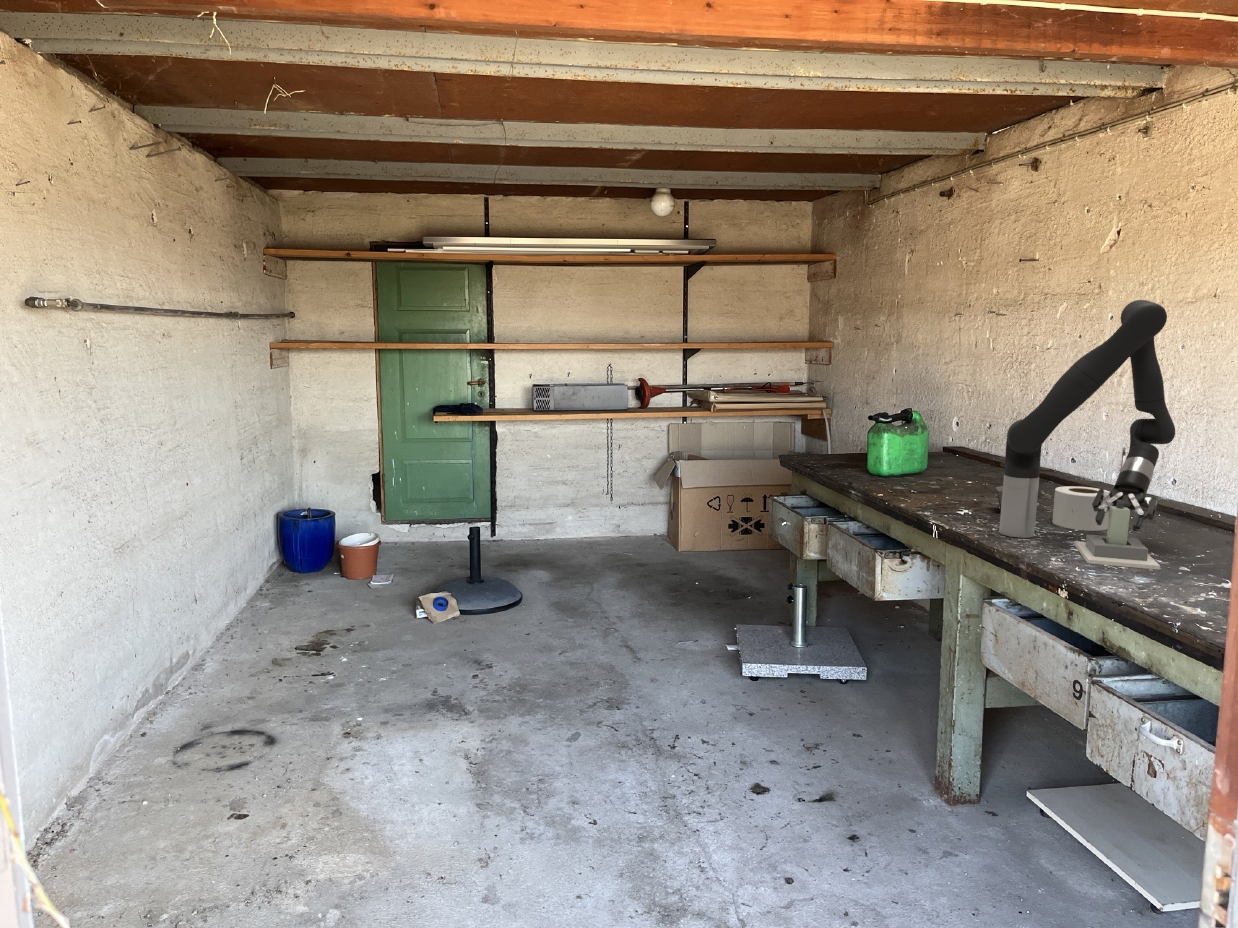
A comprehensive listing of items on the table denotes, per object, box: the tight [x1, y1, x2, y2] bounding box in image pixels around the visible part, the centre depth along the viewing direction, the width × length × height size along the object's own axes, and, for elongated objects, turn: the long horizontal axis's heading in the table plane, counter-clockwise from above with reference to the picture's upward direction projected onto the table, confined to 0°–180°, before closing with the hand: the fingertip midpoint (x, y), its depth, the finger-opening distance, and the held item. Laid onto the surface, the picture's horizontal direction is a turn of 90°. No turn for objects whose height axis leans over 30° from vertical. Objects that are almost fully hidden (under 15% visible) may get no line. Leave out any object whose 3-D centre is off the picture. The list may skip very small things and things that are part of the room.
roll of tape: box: [1052, 485, 1111, 532], centre depth 261 cm, size 16×15×11 cm
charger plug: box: [1106, 500, 1131, 545], centre depth 225 cm, size 4×4×14 cm
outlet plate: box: [1073, 534, 1161, 571], centre depth 226 cm, size 20×16×4 cm
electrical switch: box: [995, 485, 1003, 510], centre depth 279 cm, size 9×5×9 cm, turn 162°
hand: (1116, 526), depth 224 cm, fingers open, 8 cm apart
